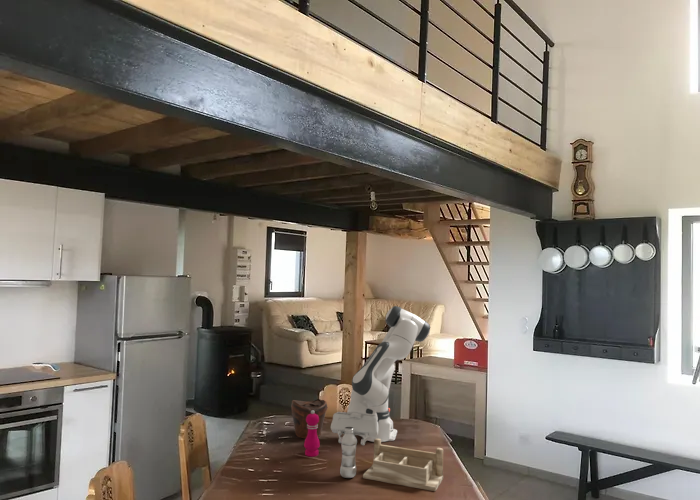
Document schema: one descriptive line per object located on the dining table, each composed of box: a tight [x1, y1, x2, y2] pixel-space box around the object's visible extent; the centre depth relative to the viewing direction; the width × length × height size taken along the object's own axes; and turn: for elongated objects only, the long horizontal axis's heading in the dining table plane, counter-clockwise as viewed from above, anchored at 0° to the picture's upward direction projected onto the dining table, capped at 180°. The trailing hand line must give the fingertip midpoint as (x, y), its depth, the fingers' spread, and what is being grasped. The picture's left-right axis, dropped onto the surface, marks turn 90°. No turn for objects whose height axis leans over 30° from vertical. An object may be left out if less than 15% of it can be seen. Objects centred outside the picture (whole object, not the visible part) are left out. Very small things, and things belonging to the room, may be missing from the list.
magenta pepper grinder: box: [303, 410, 321, 457], centre depth 246 cm, size 7×7×20 cm
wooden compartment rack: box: [362, 439, 444, 492], centre depth 221 cm, size 14×30×12 cm, turn 68°
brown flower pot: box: [290, 398, 328, 439], centre depth 274 cm, size 18×20×18 cm
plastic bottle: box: [339, 427, 358, 479], centre depth 221 cm, size 6×7×20 cm
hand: (351, 443), depth 222 cm, fingers open, 8 cm apart
